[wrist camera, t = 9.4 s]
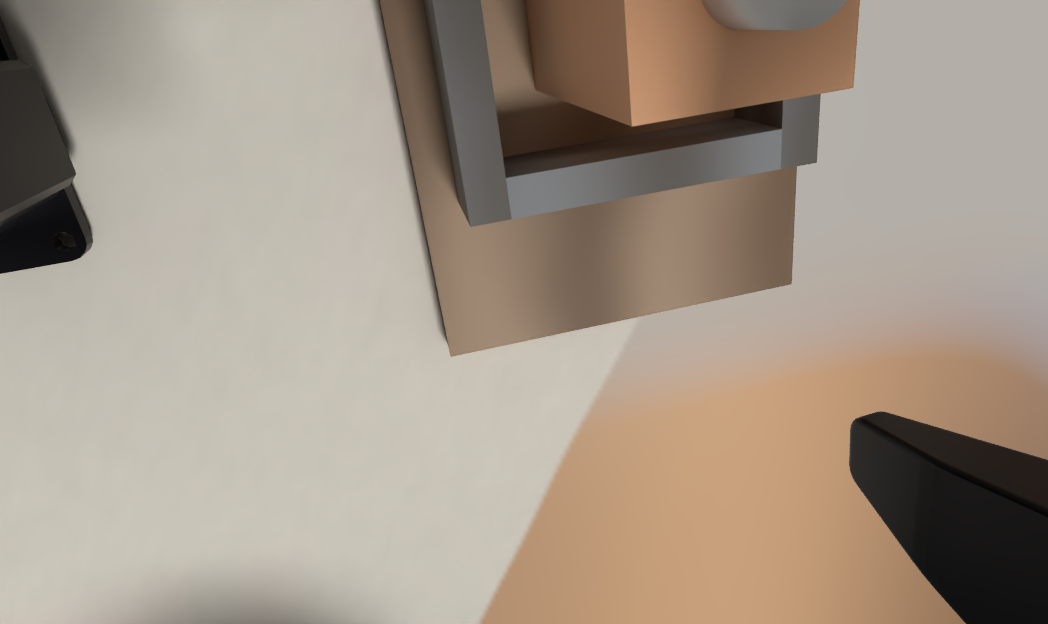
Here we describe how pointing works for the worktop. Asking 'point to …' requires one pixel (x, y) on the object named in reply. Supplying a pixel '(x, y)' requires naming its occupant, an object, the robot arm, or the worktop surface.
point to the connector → (689, 53)
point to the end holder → (579, 186)
